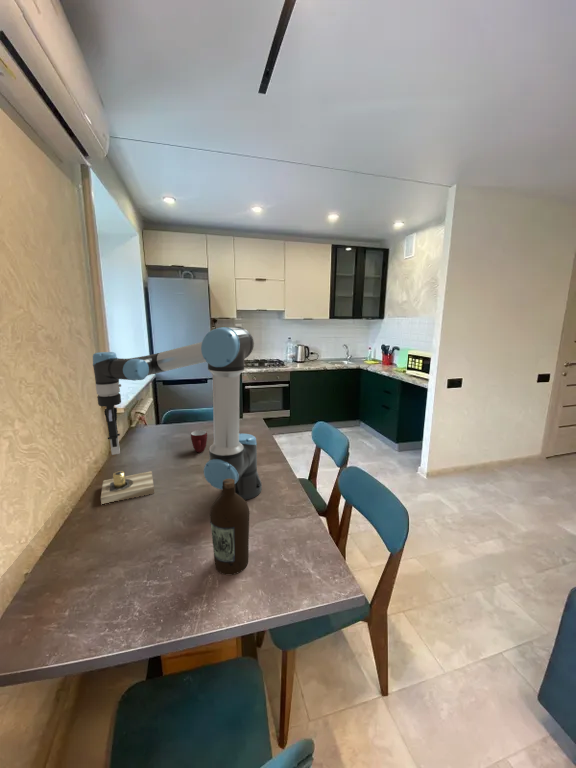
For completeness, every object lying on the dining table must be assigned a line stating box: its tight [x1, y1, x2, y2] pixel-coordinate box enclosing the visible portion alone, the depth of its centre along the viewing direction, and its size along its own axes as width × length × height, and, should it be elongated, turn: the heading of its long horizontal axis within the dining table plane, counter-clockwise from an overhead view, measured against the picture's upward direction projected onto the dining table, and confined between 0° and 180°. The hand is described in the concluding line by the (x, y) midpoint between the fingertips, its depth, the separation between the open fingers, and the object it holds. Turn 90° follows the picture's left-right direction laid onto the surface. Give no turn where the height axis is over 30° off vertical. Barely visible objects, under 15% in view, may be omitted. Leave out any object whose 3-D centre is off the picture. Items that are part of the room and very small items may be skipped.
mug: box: [190, 429, 208, 453], centre depth 160 cm, size 10×8×10 cm
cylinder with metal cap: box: [112, 470, 126, 489], centre depth 123 cm, size 4×4×8 cm
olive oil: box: [209, 479, 251, 575], centre depth 86 cm, size 11×11×25 cm
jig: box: [100, 471, 155, 505], centre depth 125 cm, size 14×18×3 cm
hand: (115, 453), depth 120 cm, fingers closed
